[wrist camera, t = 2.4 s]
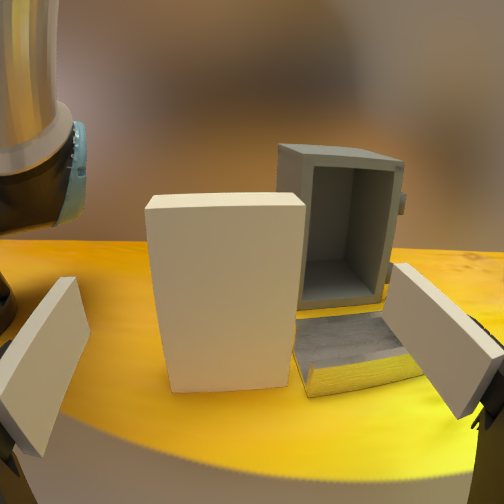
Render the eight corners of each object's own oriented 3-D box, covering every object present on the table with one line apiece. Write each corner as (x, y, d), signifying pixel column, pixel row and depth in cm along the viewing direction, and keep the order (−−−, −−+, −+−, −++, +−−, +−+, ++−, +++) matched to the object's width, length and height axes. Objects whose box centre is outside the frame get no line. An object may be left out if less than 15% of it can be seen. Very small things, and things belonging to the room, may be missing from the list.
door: (171, 392, 25) (144, 208, 19) (174, 362, 29) (154, 193, 22) (287, 386, 26) (306, 205, 20) (278, 357, 30) (291, 191, 24)
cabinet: (291, 311, 37) (303, 153, 30) (272, 266, 48) (278, 143, 41) (387, 302, 39) (412, 162, 32) (352, 262, 50) (366, 149, 43)
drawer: (308, 397, 25) (314, 364, 23) (290, 347, 31) (294, 315, 30) (444, 368, 27) (458, 337, 25) (414, 330, 33) (423, 301, 32)
